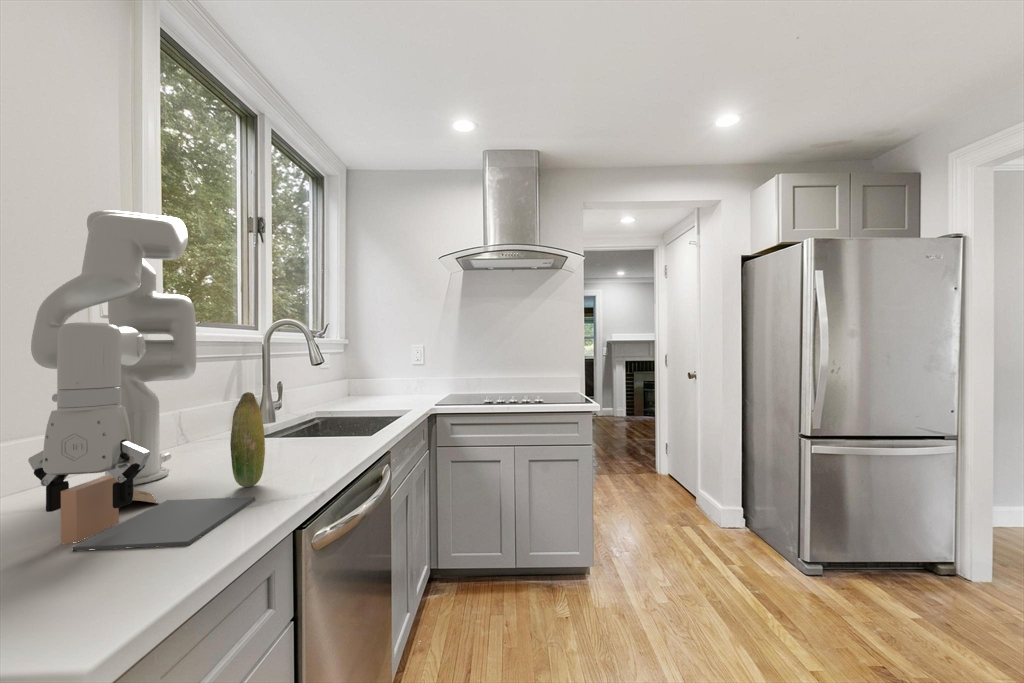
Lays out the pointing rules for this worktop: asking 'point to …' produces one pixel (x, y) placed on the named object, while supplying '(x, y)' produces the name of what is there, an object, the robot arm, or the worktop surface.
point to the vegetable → (247, 441)
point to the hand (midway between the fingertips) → (90, 507)
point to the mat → (168, 524)
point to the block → (87, 509)
